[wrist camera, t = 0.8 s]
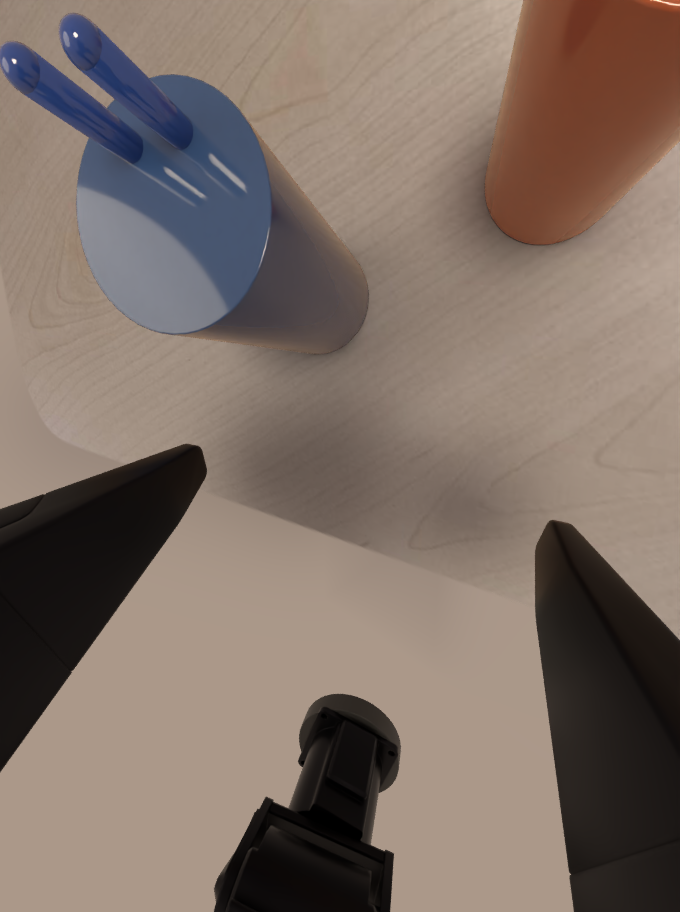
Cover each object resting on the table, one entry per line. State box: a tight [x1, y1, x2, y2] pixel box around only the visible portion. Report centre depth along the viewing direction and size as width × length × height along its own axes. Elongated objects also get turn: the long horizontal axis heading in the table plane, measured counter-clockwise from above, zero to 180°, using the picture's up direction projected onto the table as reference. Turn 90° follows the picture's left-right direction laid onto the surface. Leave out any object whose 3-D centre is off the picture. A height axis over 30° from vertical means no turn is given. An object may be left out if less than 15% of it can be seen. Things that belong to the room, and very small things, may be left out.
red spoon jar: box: [485, 0, 680, 245], centre depth 10 cm, size 6×6×16 cm
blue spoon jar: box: [0, 13, 369, 354], centre depth 15 cm, size 6×6×16 cm
